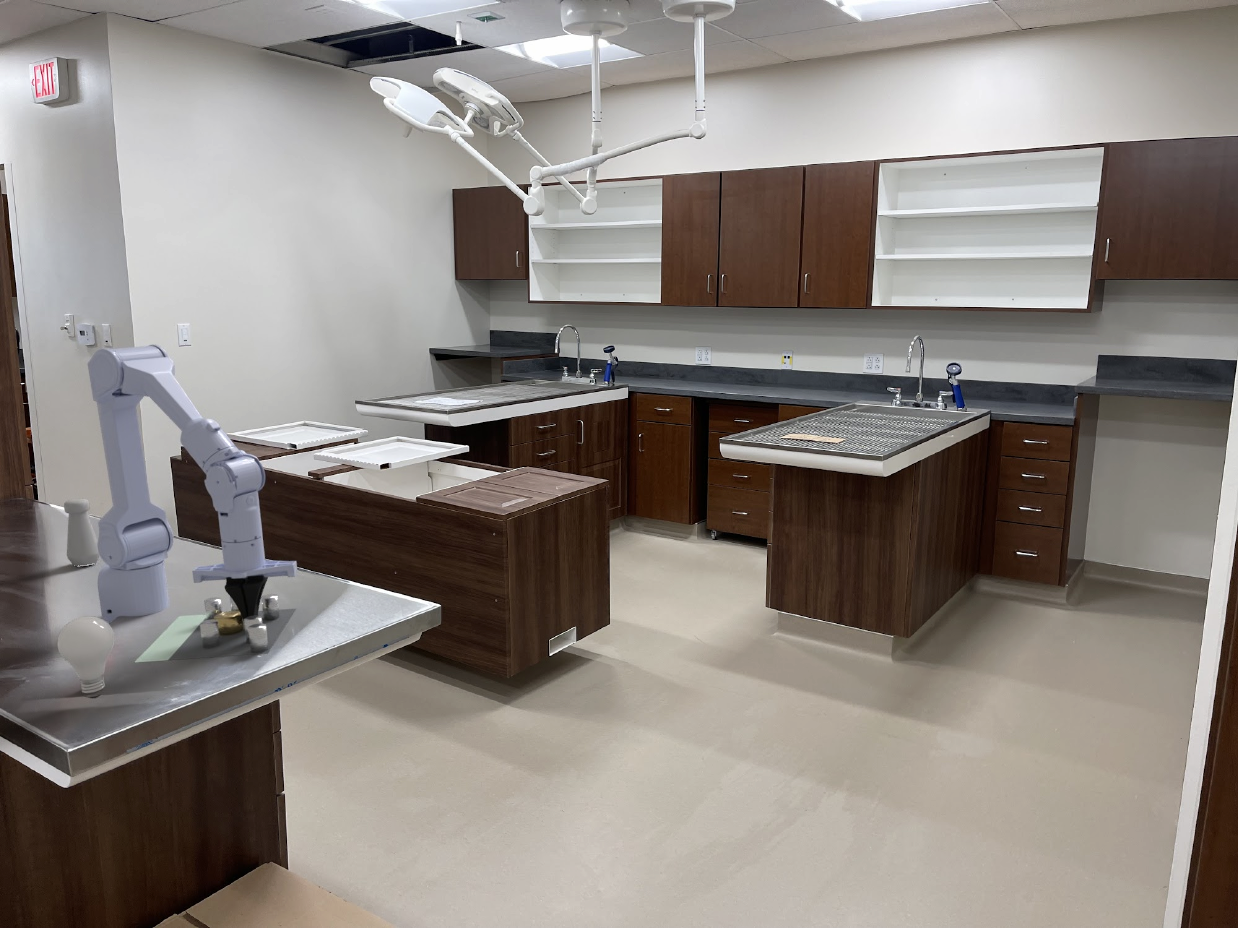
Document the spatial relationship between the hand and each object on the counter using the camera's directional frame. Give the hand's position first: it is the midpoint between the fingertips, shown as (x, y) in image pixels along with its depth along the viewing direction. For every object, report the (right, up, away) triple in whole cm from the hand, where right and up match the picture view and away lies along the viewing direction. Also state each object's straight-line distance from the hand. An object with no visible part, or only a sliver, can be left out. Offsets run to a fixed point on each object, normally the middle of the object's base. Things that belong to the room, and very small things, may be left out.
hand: (251, 623), depth 137 cm
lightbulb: (-13, -6, -19) cm, 24 cm away
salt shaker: (-48, +4, +39) cm, 62 cm away
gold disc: (-3, -1, 0) cm, 3 cm away
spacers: (-2, -1, -2) cm, 2 cm away
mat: (-4, -2, -1) cm, 5 cm away
